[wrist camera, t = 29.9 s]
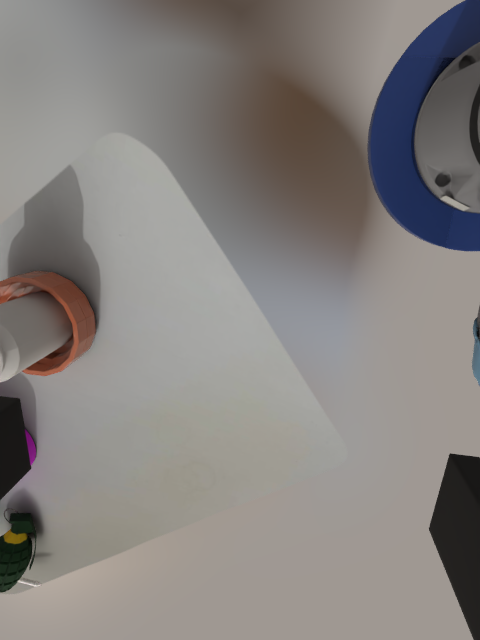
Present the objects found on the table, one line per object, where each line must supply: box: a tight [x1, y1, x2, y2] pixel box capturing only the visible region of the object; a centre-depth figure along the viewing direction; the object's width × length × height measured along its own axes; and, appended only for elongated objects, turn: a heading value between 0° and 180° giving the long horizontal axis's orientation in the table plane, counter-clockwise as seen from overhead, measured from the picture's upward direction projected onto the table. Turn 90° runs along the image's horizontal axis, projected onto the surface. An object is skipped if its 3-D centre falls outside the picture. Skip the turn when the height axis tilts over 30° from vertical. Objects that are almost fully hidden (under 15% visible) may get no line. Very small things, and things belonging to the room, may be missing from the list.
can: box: [0, 292, 73, 382], centre depth 41 cm, size 8×8×12 cm
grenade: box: [0, 509, 36, 592], centre depth 58 cm, size 6×7×12 cm
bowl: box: [0, 271, 96, 376], centre depth 45 cm, size 12×12×4 cm
